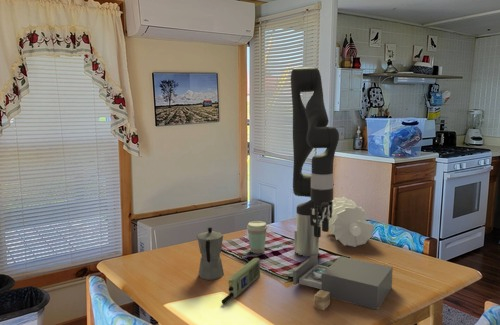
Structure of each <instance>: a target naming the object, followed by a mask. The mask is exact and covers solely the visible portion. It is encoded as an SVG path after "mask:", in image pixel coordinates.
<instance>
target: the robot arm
mask: <svg viewBox="0 0 500 325" xmlns="http://www.w3.org/2000/svg"><path fill="white" fill-rule="evenodd" d="M290 90H291V92H290V93H291V101H292V102H291V104H292V148H293V150H292V151H293V167H292V169H293V170H292V171H293V172H292V191H293V195H294V196H296V197H309V198H310V200H308V201H305V202H302V203H299V204H298V205H296V210H295V211H296V224H295V225H296V229H295V230H294V234H293V235H294V238H293V239H294V245H293V246H294V249H293V250H294V252H296V253H295V254H297V253H298V254H297V255H299V256H301V255H303V256H302V257H308V256H310V257H311V256H312V255H314V254H318V255H319V253H320V252H319V251H320V250H319V249H320V246H319V245H320V242H319V241H320V238H321V235H322V232H326V233H328V232H330V230H329V221H330V218H332V207H333V200H334V158H335V154H336V151H337V147H338V143H339V142H340V141H339V140H340V133H339V131H338V128H336V127H335V126H328V125H329V116H328V113H327V109H326V106H325V101H324V89H323V82H322V76H321V71H320V70H319V69H318V67H314V66H313V67H311V66H310V67H294V68H292V70H291V72H290ZM311 92H313V94H312V95H311V96H310V98H309V99H308V100H307V103H306V105H304V103H303V101H302V97H301V93H311ZM313 149H325V151H324V152H322V153H320V154H316V155H313V156H312V158H311V173H303V172H302V171H303V166H304V164H305V162H306V160H307V158H308V157H309V155H310V154H311V152H312V151H313ZM321 231H322V232H321Z"/></svg>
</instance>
